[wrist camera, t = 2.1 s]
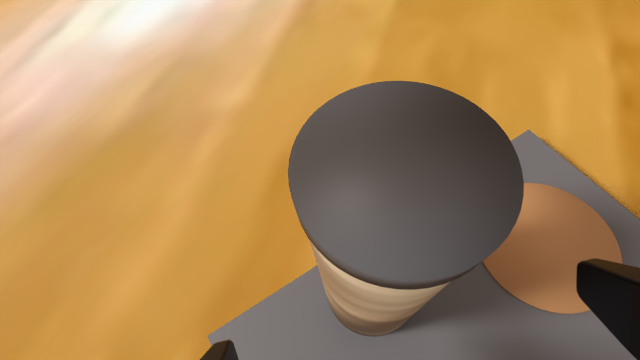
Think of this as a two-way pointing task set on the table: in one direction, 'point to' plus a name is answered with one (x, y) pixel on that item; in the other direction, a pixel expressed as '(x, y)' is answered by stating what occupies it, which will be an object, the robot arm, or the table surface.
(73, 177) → the table surface
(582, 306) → the subfloor panel
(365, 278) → the beige cylindrical canister
